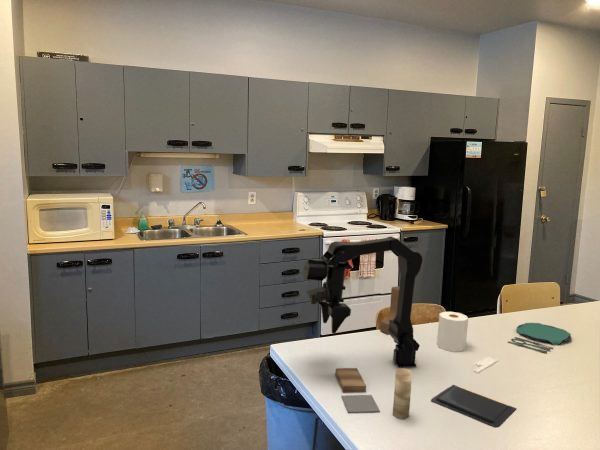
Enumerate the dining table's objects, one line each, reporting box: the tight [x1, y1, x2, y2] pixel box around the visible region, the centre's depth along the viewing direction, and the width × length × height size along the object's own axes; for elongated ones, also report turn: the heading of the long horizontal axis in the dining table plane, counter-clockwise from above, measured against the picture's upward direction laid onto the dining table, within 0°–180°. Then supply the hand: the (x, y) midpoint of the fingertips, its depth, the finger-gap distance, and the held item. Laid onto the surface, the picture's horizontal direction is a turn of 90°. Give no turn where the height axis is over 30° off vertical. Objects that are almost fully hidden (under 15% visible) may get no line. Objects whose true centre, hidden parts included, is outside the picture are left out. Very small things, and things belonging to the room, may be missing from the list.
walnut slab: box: [334, 367, 367, 394], centre depth 151 cm, size 12×7×2 cm, turn 7°
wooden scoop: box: [379, 285, 400, 335], centre depth 195 cm, size 9×4×18 cm, turn 119°
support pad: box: [341, 394, 381, 414], centre depth 138 cm, size 9×9×1 cm
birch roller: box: [392, 367, 413, 420], centre depth 132 cm, size 4×4×12 cm
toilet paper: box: [436, 311, 469, 353], centre depth 182 cm, size 10×10×12 cm
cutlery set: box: [507, 322, 572, 354], centre depth 195 cm, size 20×30×2 cm, turn 134°
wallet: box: [430, 384, 518, 428], centre depth 140 cm, size 20×2×15 cm
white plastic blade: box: [472, 356, 499, 374], centre depth 168 cm, size 5×15×1 cm, turn 133°
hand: (328, 327), depth 157 cm, fingers open, 9 cm apart
